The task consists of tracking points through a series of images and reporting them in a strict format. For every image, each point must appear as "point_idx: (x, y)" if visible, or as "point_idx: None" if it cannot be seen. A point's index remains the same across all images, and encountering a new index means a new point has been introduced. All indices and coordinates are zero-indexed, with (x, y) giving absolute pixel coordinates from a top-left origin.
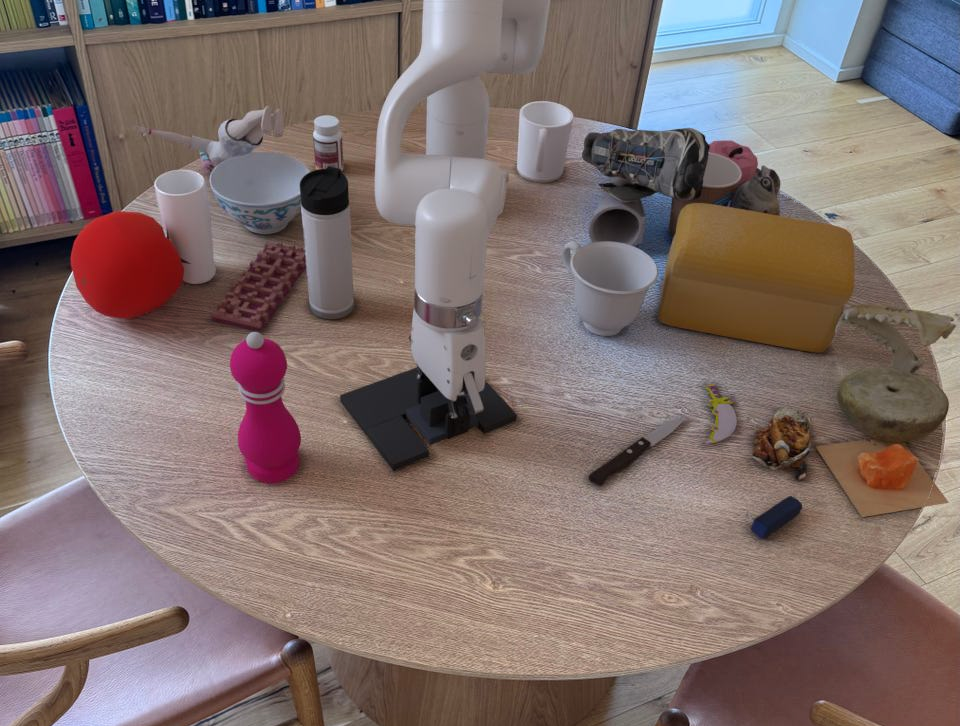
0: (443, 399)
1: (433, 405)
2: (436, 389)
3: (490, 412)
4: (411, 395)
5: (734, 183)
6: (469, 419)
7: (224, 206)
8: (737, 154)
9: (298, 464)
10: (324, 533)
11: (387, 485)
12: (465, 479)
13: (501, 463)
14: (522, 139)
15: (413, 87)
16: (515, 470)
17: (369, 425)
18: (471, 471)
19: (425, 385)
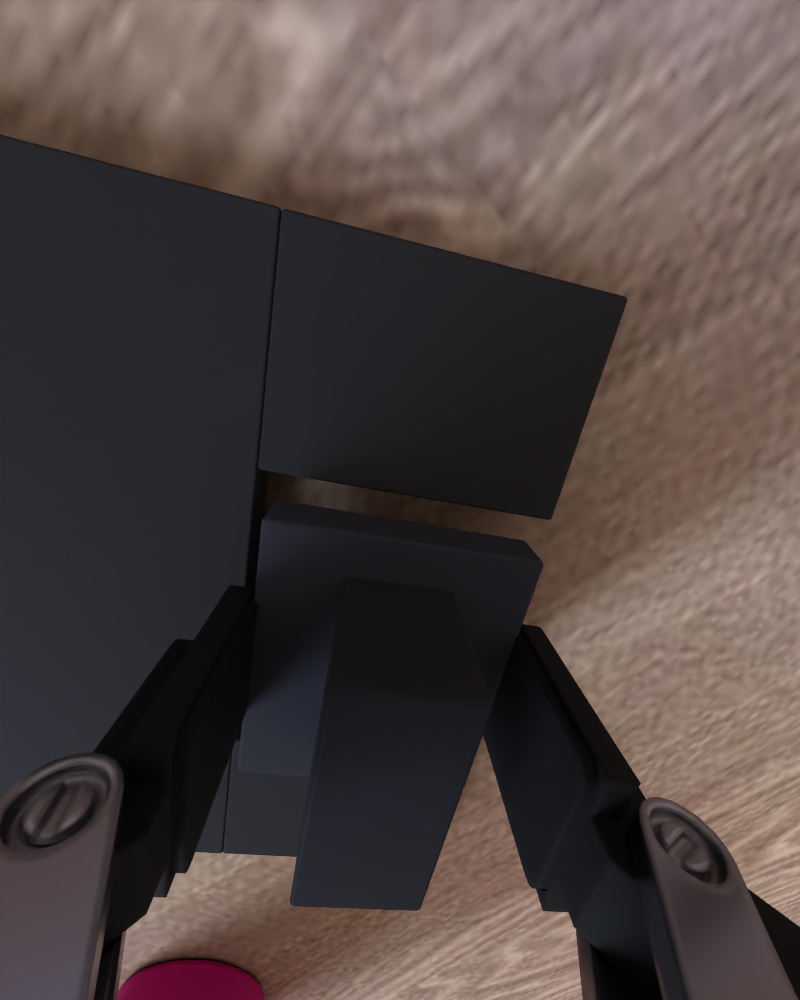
0: (405, 826)
1: (404, 887)
2: (231, 685)
3: (501, 415)
4: (136, 643)
5: None
6: (574, 684)
7: None
8: None
9: (237, 988)
10: (465, 990)
11: (456, 856)
12: (625, 696)
13: (689, 557)
14: None
15: None
16: (756, 541)
17: (213, 838)
18: (619, 662)
19: (195, 834)
